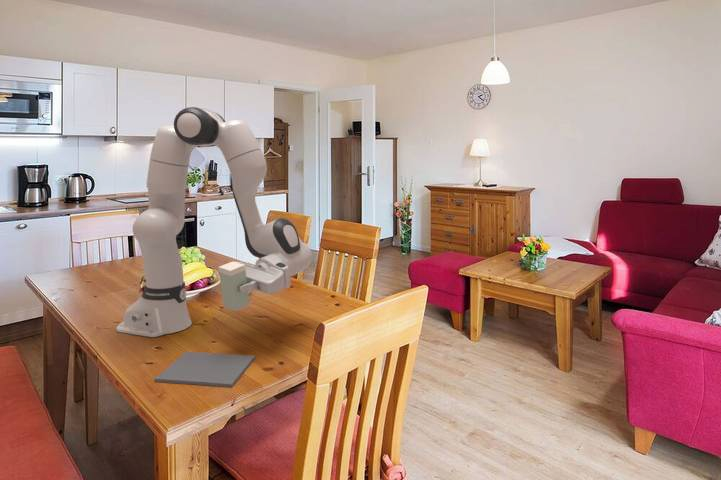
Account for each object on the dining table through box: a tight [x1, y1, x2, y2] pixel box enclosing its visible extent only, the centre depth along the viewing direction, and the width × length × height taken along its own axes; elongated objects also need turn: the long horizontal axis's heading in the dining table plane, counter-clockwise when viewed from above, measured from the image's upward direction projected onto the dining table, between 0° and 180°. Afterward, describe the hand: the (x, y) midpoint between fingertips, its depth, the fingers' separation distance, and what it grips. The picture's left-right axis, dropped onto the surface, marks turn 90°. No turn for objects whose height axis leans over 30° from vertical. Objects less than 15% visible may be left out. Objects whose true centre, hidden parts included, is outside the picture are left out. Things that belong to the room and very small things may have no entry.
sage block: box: [217, 260, 250, 312], centre depth 130 cm, size 5×5×12 cm
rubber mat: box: [154, 351, 256, 388], centre depth 123 cm, size 20×16×1 cm
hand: (231, 287), depth 129 cm, fingers closed on sage block, 5 cm apart
